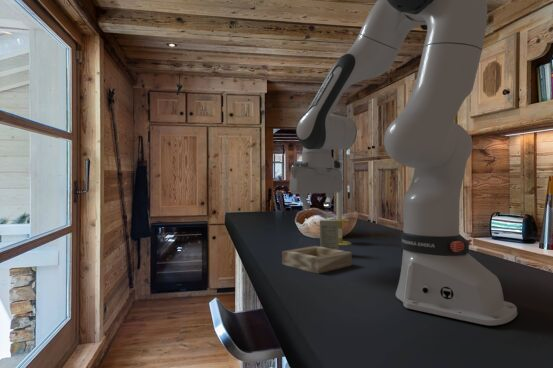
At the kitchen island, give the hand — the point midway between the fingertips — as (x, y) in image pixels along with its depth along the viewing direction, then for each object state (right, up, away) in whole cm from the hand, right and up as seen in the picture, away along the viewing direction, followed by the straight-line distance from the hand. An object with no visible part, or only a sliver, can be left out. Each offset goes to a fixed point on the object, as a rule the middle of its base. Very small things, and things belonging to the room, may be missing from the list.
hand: (317, 208), depth 108 cm
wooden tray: (0, -17, 0) cm, 17 cm away
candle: (+14, -18, +38) cm, 44 cm away
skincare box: (+6, -18, +16) cm, 24 cm away
